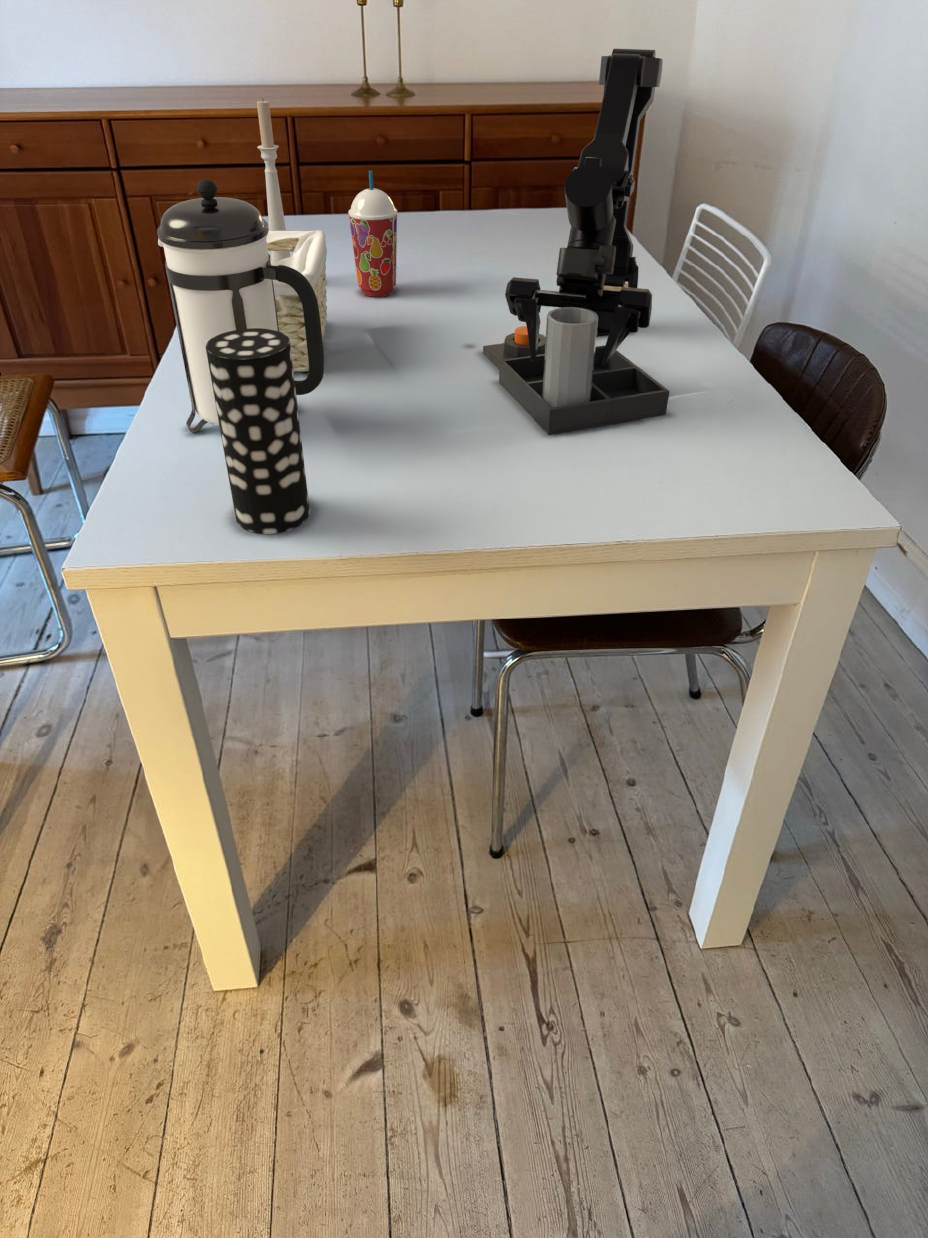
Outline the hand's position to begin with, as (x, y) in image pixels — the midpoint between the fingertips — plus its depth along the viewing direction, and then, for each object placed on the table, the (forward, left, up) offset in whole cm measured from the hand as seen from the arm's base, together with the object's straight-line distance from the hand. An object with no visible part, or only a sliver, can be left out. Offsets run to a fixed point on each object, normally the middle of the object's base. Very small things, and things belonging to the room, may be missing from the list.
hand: (567, 364), depth 118 cm
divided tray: (-5, -5, -8) cm, 11 cm away
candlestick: (+24, -69, -8) cm, 74 cm away
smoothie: (+9, -59, -8) cm, 60 cm away
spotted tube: (+41, +11, -8) cm, 44 cm away
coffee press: (+39, -14, -8) cm, 43 cm away
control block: (-4, -21, -8) cm, 23 cm away
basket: (+31, -39, -8) cm, 50 cm away
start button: (-4, -21, -5) cm, 22 cm away
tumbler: (-1, -1, -7) cm, 7 cm away
